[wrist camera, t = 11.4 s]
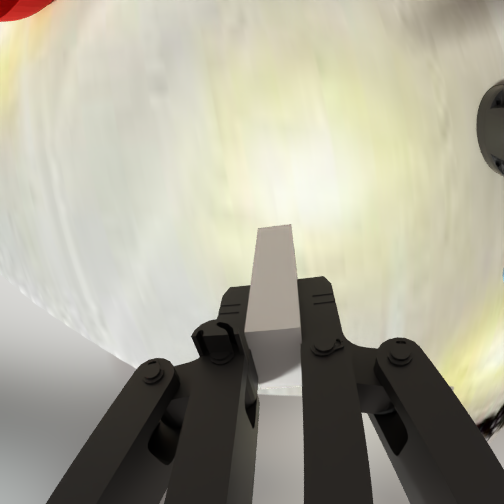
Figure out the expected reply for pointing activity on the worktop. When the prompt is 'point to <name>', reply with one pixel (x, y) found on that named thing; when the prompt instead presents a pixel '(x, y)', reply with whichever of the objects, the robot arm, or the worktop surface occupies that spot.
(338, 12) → the worktop surface
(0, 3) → the ceramic cup
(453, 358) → the worktop surface
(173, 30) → the worktop surface
